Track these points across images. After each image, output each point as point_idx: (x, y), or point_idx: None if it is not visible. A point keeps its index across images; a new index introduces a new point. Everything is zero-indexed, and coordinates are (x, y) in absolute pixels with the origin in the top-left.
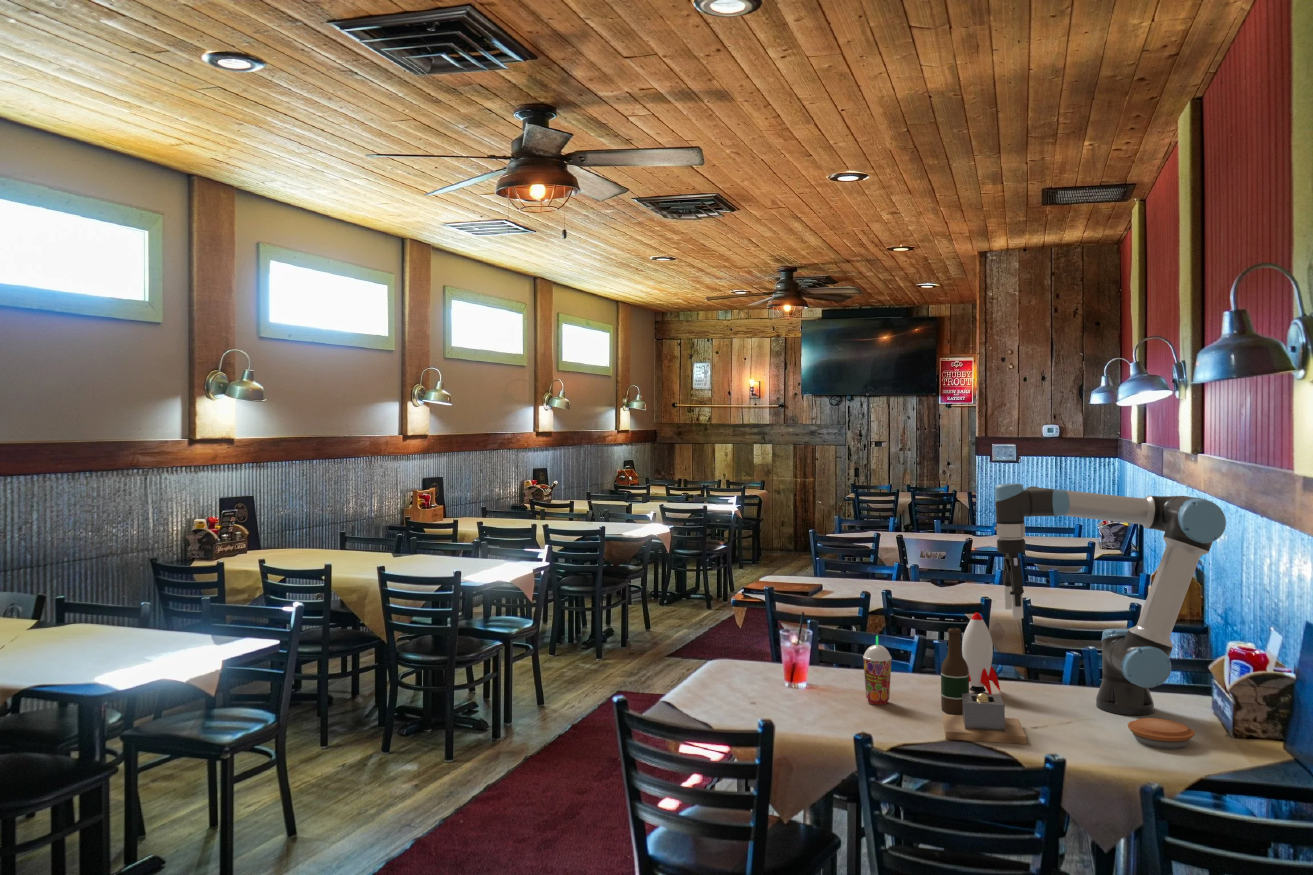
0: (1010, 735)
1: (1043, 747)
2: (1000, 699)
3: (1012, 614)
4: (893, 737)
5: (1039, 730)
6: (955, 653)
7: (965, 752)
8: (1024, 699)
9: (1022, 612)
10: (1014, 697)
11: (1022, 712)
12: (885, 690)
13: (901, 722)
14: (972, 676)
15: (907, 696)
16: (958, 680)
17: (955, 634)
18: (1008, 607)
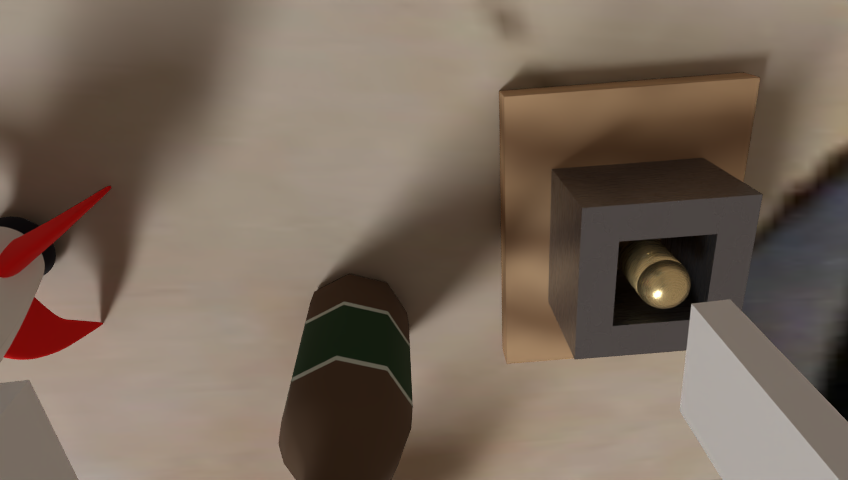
0: (750, 137)
1: (783, 6)
2: (664, 209)
3: (701, 440)
4: (701, 458)
5: (549, 5)
6: None
7: (842, 273)
8: (36, 41)
9: (774, 354)
10: (22, 88)
11: (281, 63)
12: None
13: (542, 453)
14: (31, 302)
15: (213, 463)
16: (407, 386)
17: None
18: (50, 469)
